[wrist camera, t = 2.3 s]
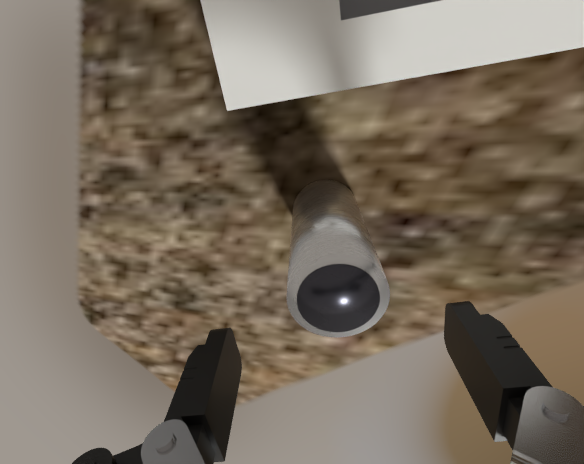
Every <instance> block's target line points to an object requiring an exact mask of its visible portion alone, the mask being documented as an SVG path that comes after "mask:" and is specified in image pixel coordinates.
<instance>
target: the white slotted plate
mask: <svg viewBox="0 0 584 464" xmlns="http://www.w3.org/2000/svg"><path fill="white" fill-rule="evenodd" d="M200 1H201V5H202V9H203V13H204V17H205V21H206V26H207V30H208V34H209V38H210V42H211V46H212V50H213V54H214V59H215V63H216V67H217V71H218V75H219V79H220V83H221V88H222V92H223V96H224V100H225V104H226V108H227V111H230V110H235V109H241V108H246V107H252V106H257V105H263V104H269V103H274V102H280V101H285V100H291V99H296V98H302V97H308V96H313V95H319V94H324V93H330V92H336V91H341V90H347V89H352V88H358V87H363V86H369V85H375V84H380V83H386V82H391V81H397V80H403V79H408V78H414V77H419V76H425V75H430V74H436V73H442V72H447V71H453V70H458V69H464V68H469V67H475V66H481V65H486V64H492V63H497V62H503V61H509V60H514V59H520V58H525V57H531V56H536V55H542V54H548V53H553V52H559V51H564V50H570V49H575V48H581V47H584V0H200Z"/></svg>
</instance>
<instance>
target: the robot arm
mask: <svg viewBox="0 0 584 464" xmlns="http://www.w3.org/2000/svg"><path fill="white" fill-rule="evenodd" d="M444 339H445V344H446V348H447V350H448V353H449V355H450V357H451V359H452V361H453V363H454V365H455V367H456V369H457V370H458V372H459V374H460V376H461V378H462V380H463V382H464V384H465V386H466V388H467V390H468V392H469V394H470V396H471V398H472V399H473V401H474V403H475V405H476V407H477V409H478V411H479V413H480V415H481V417H482V419H483V421H484V423H485V425H486V426H487V428H488V430H489V432H490V434H491V436H492V438H493V440H494V441H495V442H497V441H508V443H509V445H510V446H511V448H512V450H513V453H512V458H511V463H510V464H584V406H582V405H581V403H580V402H579V401H577V400H576V399H575V398H574V397H572V396H571V395H569V394H567V393H565V392H564V391H561V390H559V389H556V388H553V387H552V386H551V385H550V383H549V382H548V381H547V379H546V378H545V377H544V376H543V374H542V373H541V372H540V370H539V369H538V368H537V367H536V366H535V364H534V363H533V362H532V360H531V359H530V358H529V356H528V355H527V354H526V353H525V351H524V350H523V349H522V348H520V345H519V344H518V343H517V341H516V340H515V339H514V338H512V335H511V334H510V332H509V331H508V330H507V329H506V327H505V326H504V325H503V324H502V323H501V322H500V321H498V320H497V319H495V318H494V317H492V316H491V315H489V314H484V315H480V314H479V313H478V311H477V310H476V309H475V307H474V306H473V304H472V303H471V302H469V301H465V302H457V303H448V304H446V308H445V328H444ZM241 370H242V364H241V357H240V353H239V350H238V347H237V344H236V341H235V337H234V334H233V331H232V329H231V328H223V329H215V330H211V331H210V332H209V335H208V338H207V341H206V344H205V345H198V346H197V347H196V348H195V350H194V351H193V352H192V353H191V354H190V356H189V357H188V360H187V362H186V365H185V368H184V371H183V373H182V375H181V378H180V381H179V383H178V386H177V389H176V391H175V394H174V397H173V399H172V402H171V404H170V407H169V410H168V412H167V415H166V418H165V420H164V422H163V423H161V424H159V425H158V426H156V427H155V428H154V429H153V430H152V431H151V432H150V433H149V434H148V435H147V437H146V438H145V440H144V442H143V443H142V444H140V445H139V446H136V447H134V448H131V449H129V450H126V451H124V452H122V453H119V454H117V455H114V456H112V454H111V452H110V451H109V450H107V449H105V448H96V449H93V450H90V451H88V452H86V453H84V454H83V455H81V456H80V457H78V458H77V459H76V460H75V461H74V462H73V463H72V464H213V463H214V462H223V461H225V456H226V450H227V445H228V441H229V435H230V430H231V425H232V419H233V414H234V409H235V403H236V398H237V393H238V388H239V382H240V377H241Z"/></svg>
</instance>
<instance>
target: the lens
mask: <svg viewBox="0 0 584 464" xmlns="http://www.w3.org/2000/svg"><path fill="white" fill-rule="evenodd" d="M389 299H390V290H389V285H388V282H387V279H386V277H385V274H384V272H383V269H382V266H381V264H380V261H379V259H378V256H377V253H376V251H375V248H374V246H373V243H372V241H371V238H370V235H369V233H368V230H367V228H366V225H365V222H364V220H363V217H362V215H361V212H360V209H359V207H358V204H357V202H356V199H355V197H354V195H353V193H352V192H351V191H350V189H349V188H348V187H346V186H345V185H343V184H342V183H340V182H337V181H334V180H318V181H315V182H312V183H310V184H308V185H307V186H305V187H304V188H303V189H302V190H301V191H300V192H299V194H298V195H297V197H296V199H295V201H294V206H293V217H292V231H291V244H290V258H289V271H288V285H287V305H288V308H289V311H290V313H291V315H292V316H293V318H294V319H295V320H296V321H297V322H298V323H299V324H300V325H301V326H302V327H304V328H305V329H307V330H308V331H310V332H312V333H315V334H318V335H322V336H326V337H346V336H351V335H355V334H358V333H361V332H363V331H365V330H367V329H368V328H370V327H372V326H373V325H374V324H375V323H377V322H378V320H379V319H380V318H381V317H382V316H383V314H384V313H385V311H386V309H387V307H388V304H389Z"/></svg>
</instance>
